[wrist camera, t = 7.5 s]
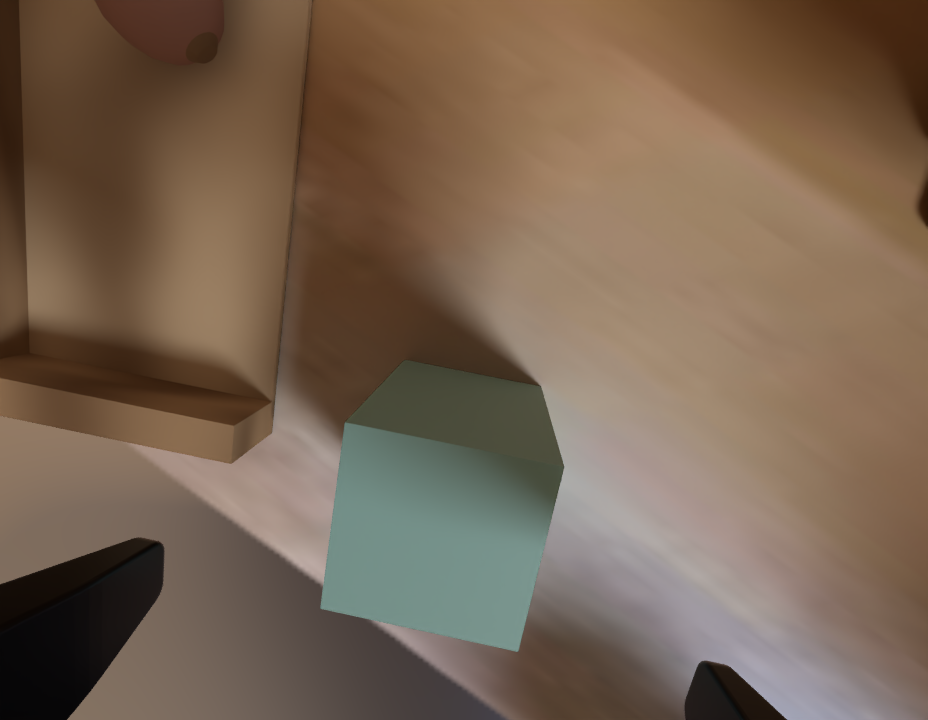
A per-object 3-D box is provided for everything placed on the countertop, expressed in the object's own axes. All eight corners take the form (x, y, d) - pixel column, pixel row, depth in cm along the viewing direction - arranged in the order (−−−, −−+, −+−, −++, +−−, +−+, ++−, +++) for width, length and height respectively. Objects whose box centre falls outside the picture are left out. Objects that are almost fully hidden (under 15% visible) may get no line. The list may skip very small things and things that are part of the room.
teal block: (541, 386, 15) (564, 467, 9) (512, 509, 16) (517, 651, 10) (404, 359, 15) (344, 422, 10) (385, 483, 16) (320, 608, 11)
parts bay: (343, -329, 12) (301, -482, 9) (271, 432, 16) (231, 464, 14) (-29, -380, 12) (-164, -541, 10) (4, 377, 17) (-82, 398, 14)
